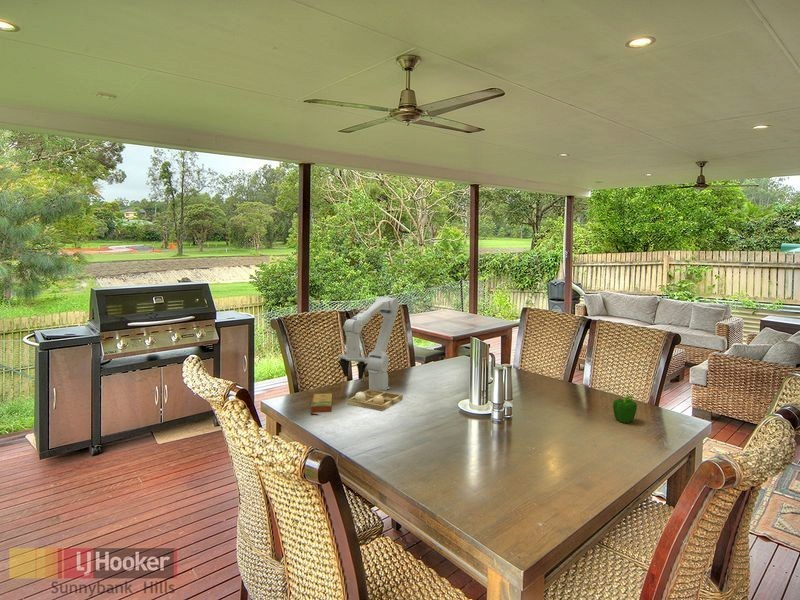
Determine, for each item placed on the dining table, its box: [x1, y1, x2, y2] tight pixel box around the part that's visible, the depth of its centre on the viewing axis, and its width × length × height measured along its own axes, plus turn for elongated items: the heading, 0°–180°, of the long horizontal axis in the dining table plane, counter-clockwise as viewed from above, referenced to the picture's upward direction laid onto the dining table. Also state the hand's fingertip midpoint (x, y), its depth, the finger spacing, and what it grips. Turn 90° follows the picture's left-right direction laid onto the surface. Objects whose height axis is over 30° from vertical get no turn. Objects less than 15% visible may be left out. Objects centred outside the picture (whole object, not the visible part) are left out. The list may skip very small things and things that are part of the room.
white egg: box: [354, 391, 366, 402], centre depth 205 cm, size 5×5×5 cm
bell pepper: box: [612, 395, 638, 424], centre depth 188 cm, size 8×8×10 cm
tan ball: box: [373, 395, 384, 405], centre depth 201 cm, size 5×5×5 cm
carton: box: [310, 393, 333, 416], centre depth 202 cm, size 8×16×4 cm, turn 7°
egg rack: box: [347, 388, 404, 412], centre depth 207 cm, size 17×17×3 cm
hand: (353, 377), depth 212 cm, fingers open, 7 cm apart
